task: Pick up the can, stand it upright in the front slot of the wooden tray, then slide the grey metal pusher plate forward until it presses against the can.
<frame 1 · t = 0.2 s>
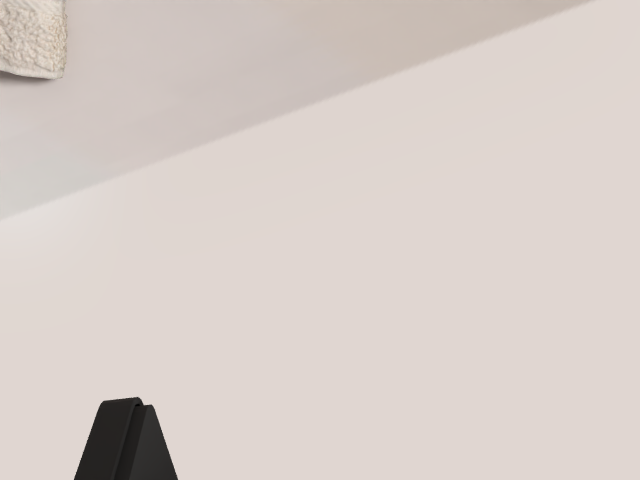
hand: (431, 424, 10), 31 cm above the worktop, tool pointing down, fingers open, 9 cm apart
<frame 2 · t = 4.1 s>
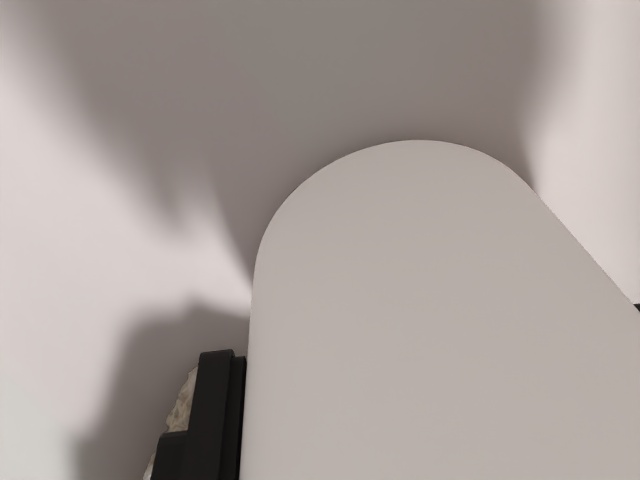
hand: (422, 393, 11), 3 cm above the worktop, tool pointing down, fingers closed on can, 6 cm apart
can: (398, 264, 13), on the worktop, touching gripper
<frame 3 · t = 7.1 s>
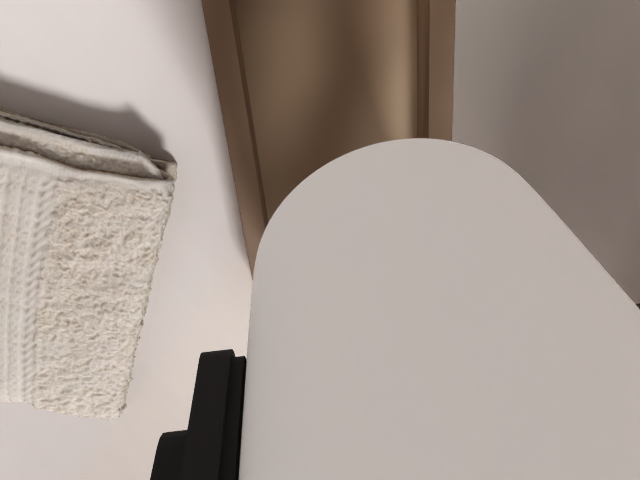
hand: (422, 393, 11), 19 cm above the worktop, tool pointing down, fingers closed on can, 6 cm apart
wooden tray: (336, 139, 28), on the worktop
washcloth: (45, 265, 32), on the worktop
can: (398, 263, 13), point 16 cm above the worktop, touching gripper
when the fingers open (5 cm above the worktop, at t = 10.1 s): can stays where it is, resting on wooden tray.
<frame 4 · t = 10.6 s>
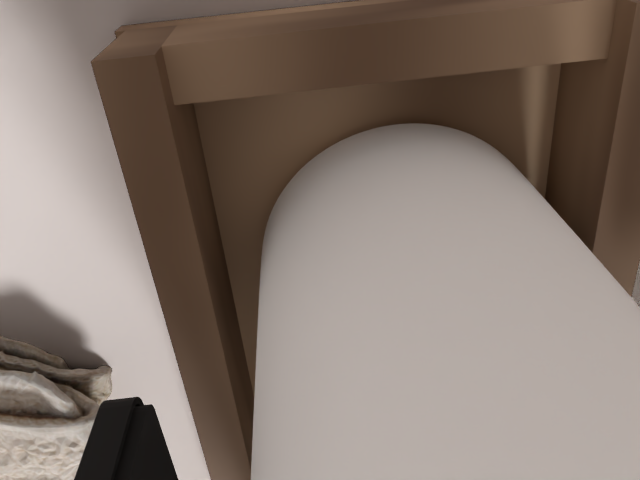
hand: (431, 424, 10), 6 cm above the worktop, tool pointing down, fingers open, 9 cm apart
wooden tray: (384, 328, 16), on the worktop
can: (395, 241, 14), resting on wooden tray
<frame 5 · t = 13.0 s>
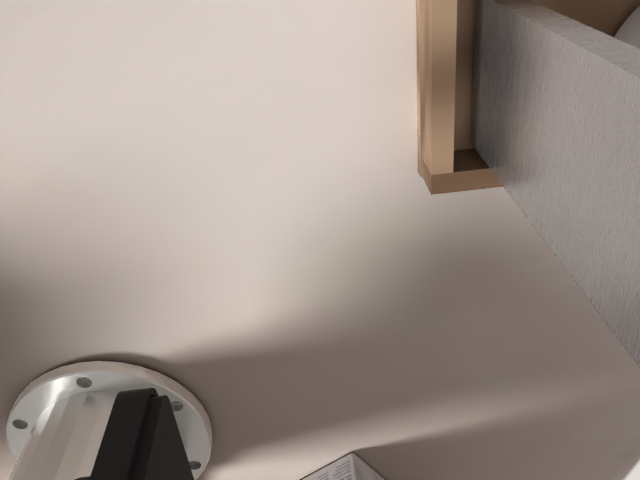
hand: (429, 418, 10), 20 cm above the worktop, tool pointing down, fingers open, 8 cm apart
wooden tray: (598, 53, 27), on the worktop
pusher: (558, 134, 20), point 9 cm above the worktop, slide at 0.0 cm
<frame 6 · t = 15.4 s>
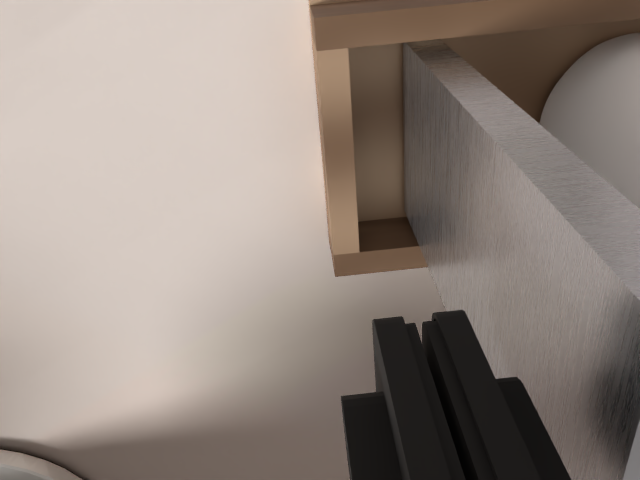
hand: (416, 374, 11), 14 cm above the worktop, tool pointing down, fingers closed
wooden tray: (534, 111, 23), on the worktop
can: (613, 114, 23), resting on wooden tray
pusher: (484, 234, 15), point 9 cm above the worktop, slide at 0.8 cm, touching gripper
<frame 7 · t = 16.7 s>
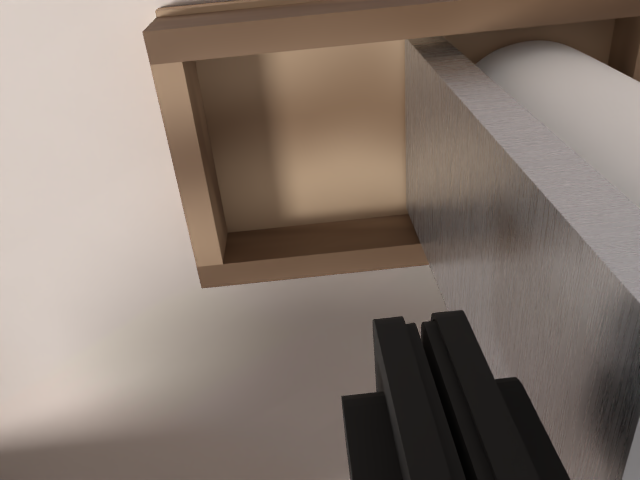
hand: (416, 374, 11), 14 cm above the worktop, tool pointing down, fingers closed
wooden tray: (403, 121, 23), on the worktop
can: (515, 121, 23), resting on wooden tray, touching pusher
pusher: (485, 232, 15), point 9 cm above the worktop, slide at 6.0 cm, touching can, gripper
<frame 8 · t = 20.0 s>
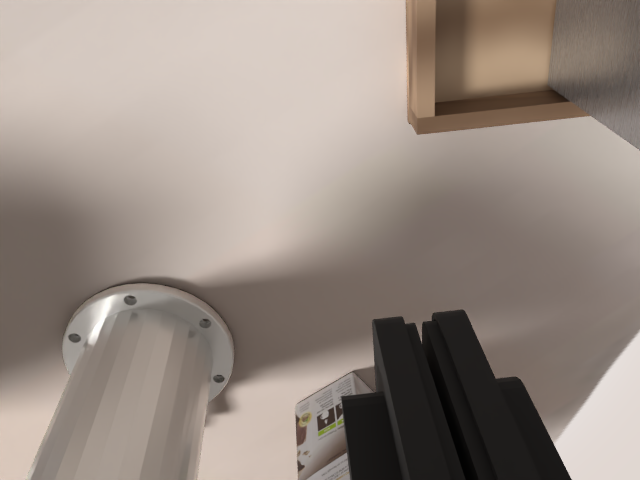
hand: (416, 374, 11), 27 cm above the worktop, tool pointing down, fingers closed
wooden tray: (549, 23, 34), on the worktop
coffee box: (353, 415, 50), on the worktop
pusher: (637, 59, 27), point 9 cm above the worktop, slide at 6.0 cm
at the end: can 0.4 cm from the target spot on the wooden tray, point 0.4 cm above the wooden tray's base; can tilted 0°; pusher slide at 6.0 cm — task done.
